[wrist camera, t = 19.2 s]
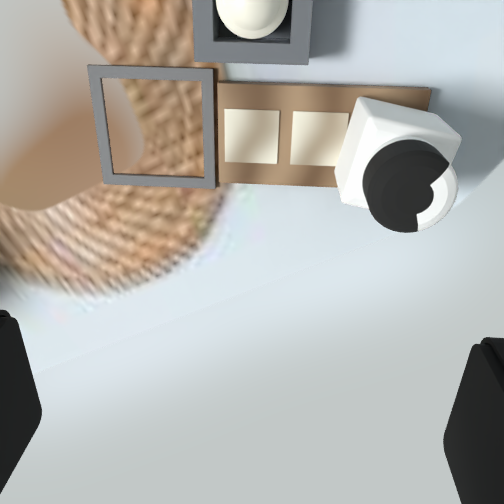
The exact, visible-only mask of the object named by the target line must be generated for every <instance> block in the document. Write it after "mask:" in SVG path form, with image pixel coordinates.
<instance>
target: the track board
mask: <svg viewBox="0 0 504 504" xmlns="http://www.w3.org/2000/svg"><path fill="white" fill-rule="evenodd" d="M217 86H218V151H219V182H222V183H246V184H269V185H292V186H316V187H338V185H337V181H336V177H335V173H334V170H335V167H336V164H337V161H338V158H339V154H340V151H341V148H342V145H343V142H344V138H345V135H346V132H347V129H348V126H349V123H350V119H351V116H352V113H353V110H354V107H355V103H356V100H357V98H359V97H366V98H370V99H375V100H379V101H383V102H387V103H392V104H396V105H400V106H404V107H409V108H413V109H417V110H421V111H426V112H427V110H428V105H429V100H430V94H431V90H430V89H429V88H428V87H398V86H367V85H336V84H306V83H275V82H244V81H219V82H218V83H217Z"/></svg>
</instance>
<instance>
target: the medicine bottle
mask: <svg viewBox="0 0 504 504" xmlns="http://www.w3.org/2000/svg"><path fill="white" fill-rule="evenodd" d="M461 141H462V138H461V136H460V135H459V134H458V133H457V132H456V131H455V130H453V129H452V128H451V127H450V126H449V125H448V124H447V123H446V122H445V121H443V120H442V119H441V118H440V117H439V116H438V115H437V114H434V113H430V112H426V111H421V110H417V109H413V108H409V107H404V106H400V105H396V104H392V103H387V102H383V101H379V100H375V99H370V98H366V97H359V98H357V100H356V103H355V107H354V110H353V113H352V116H351V119H350V123H349V126H348V129H347V132H346V135H345V138H344V142H343V145H342V148H341V151H340V154H339V158H338V161H337V164H336V167H335V170H334V173H335V177H336V181H337V185H338V190H339V194H340V198H341V201H342V203H344V204H348V205H352V206H357V207H361V208H366V209H369V210H370V212H371V214H372V215H373V217H374V218H375V220H376V221H377V222H378V223H380V224H381V225H382V226H384V227H386V228H388V229H390V230H393V231H397V232H404V233H408V232H417V231H421V230H424V229H427V228H429V227H431V226H433V225H435V224H436V223H438V222H439V221H440V220H441V219H443V217H445V216H446V215H447V213H448V212H449V211H450V209H451V208H452V206H453V204H454V202H455V200H456V197H457V192H458V179H457V176H456V173H455V171H454V169H453V167H452V166H451V164H452V162H453V160H454V157H455V155H456V153H457V150H458V148H459V146H460V144H461Z"/></svg>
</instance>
